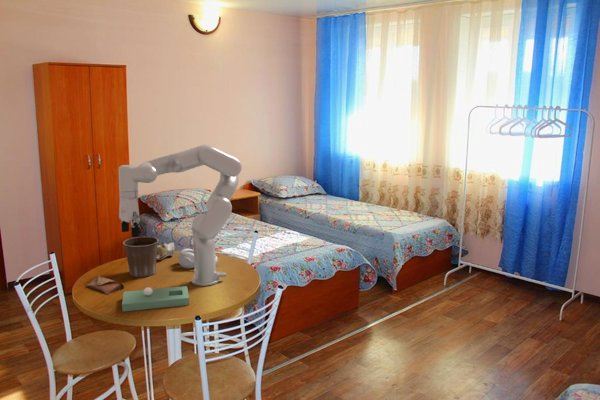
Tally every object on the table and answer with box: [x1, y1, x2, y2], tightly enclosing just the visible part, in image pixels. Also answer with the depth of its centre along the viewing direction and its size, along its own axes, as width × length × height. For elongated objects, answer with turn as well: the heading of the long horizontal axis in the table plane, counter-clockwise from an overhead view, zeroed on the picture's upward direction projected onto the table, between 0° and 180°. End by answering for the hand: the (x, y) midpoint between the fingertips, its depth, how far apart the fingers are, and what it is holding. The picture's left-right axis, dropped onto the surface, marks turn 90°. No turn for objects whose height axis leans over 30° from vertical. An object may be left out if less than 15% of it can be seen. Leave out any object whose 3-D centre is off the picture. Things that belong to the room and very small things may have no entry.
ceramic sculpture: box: [156, 241, 175, 261], centre depth 276 cm, size 11×9×15 cm
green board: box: [121, 285, 190, 313], centre depth 217 cm, size 26×14×3 cm, turn 105°
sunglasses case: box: [84, 275, 125, 295], centre depth 233 cm, size 18×7×7 cm, turn 56°
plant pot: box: [122, 236, 159, 278], centre depth 250 cm, size 16×16×16 cm
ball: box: [143, 286, 153, 296], centre depth 216 cm, size 4×4×4 cm
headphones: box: [177, 247, 219, 269], centre depth 265 cm, size 18×8×20 cm
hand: (130, 233), depth 224 cm, fingers open, 9 cm apart
